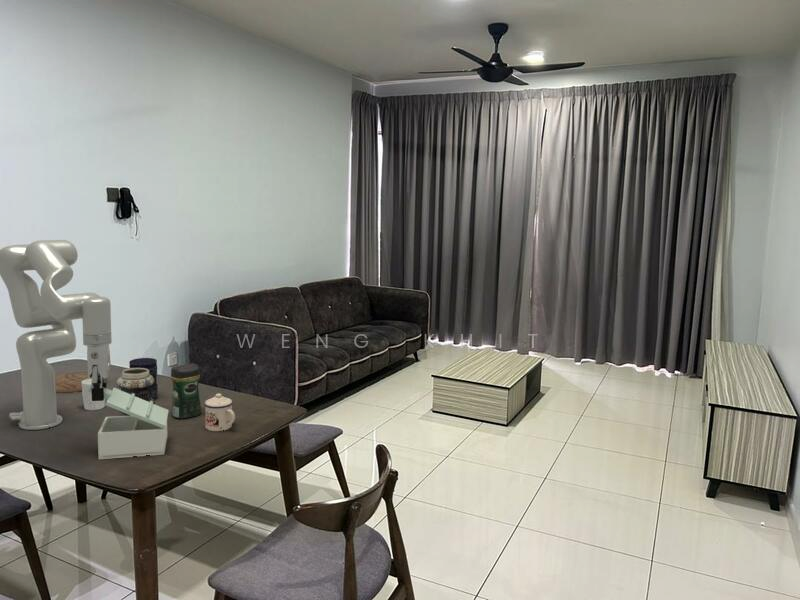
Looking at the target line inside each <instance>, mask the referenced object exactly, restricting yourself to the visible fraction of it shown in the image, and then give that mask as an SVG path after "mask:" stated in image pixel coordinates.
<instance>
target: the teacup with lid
mask: <svg viewBox="0 0 800 600" xmlns="http://www.w3.org/2000/svg"><path fill="white" fill-rule="evenodd" d="M232 405H233V400H232V399H231V398H228V397H225V396H222V393H216V394H215V396H213V397H211V398H209V399H206V400H205V401H204V406H205V408H204V410H205V411H204V412H205V414H204V415H205V419H204V420H205V421H204V422H205V423H204V424H205V429H207V431H210V432H223V430H224V431H226V430H229V429H231V428H232V424H233V423H234V422H235V419H236V414H235V411H234V410H233V406H232Z"/></svg>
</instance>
